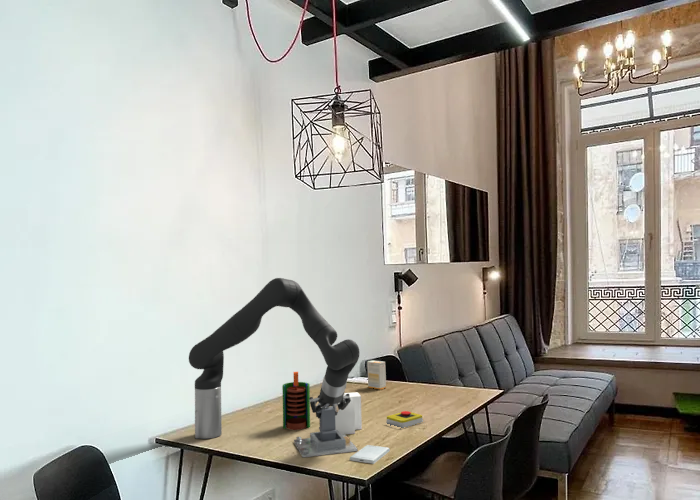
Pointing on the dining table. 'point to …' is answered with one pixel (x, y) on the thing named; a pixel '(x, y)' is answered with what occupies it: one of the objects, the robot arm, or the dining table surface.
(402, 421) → the emergency button
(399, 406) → the dining table surface
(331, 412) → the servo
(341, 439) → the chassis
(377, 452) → the hard drive
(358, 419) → the corner bracket
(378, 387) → the supplement box
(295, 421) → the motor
